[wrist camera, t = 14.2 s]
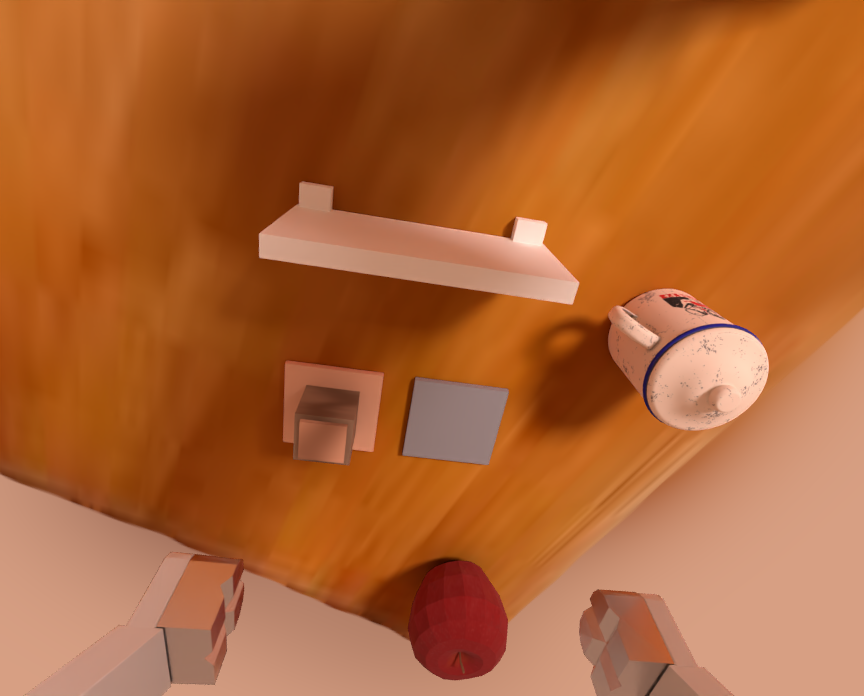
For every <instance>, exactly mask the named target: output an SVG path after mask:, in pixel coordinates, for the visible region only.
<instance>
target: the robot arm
mask: <svg viewBox="0 0 864 696" xmlns="http://www.w3.org/2000/svg"><path fill="white" fill-rule="evenodd" d="M243 570H244V567H243V559H234V558H225V557H216V556H207V555H198V554H188V553H178V552H170V554H168V555H167V557H166V558H165V559H164V560H163V562H162V564H161V565H160V567H159V569H158V571H157V573H156V574H155V576H154V578H153V579H152V581H151V583H150V585H149V586H148V588H147V590H146V592H145V593H144V595H143V597H142V599H141V600H140V602H139V604H138V606H137V607H136V609H135V611H134V613H133V614H132V616H131V618H130V620H129V621H128V623H127V625H126V626H124V625H118V626H117V627H116V628H114V629H113V630H111V631H110V632H109V633H107V634H106V635H105V636H103V637H102V638H101V639H99V640H98V641H97V642H95V643H94V644H93V645H91V646H90V647H89V648H87V649H86V650H84V651H83V652H82V653H80V654H79V655H78V656H76V657H75V658H74V659H72V660H71V661H70V662H68V663H67V664H66V665H65V666H63V667H62V668H60V669H59V670H58V671H56V672H55V673H54V674H52V675H51V676H49V677H48V678H47V679H46V680H44V681H43V682H42V683H40V684H39V685H37V686H36V687H35V688H33V689H32V690H31V691H29V692H28V693H27V694H25V695H24V696H162V695H163V694H164V693H165V692H166V691H167V690H168V689H169V688H170V687H171V683H175V684H176V683H177V684H208V685H210V684H211V685H215V683H216V680H217V677H218V674H219V672H220V669H221V666H222V663H223V660H224V658H225V655H226V652H227V639H226V637H227V636H228V635H229V634H230V633H231V632H232V631H233V630H235V626H236V624H237V620H238V618H239V614H240V610H241V606H242V602H243V595H244V583H243V582H242V581H241V580H240V578H241V575H242V573H243ZM590 601H591V604H592V607H590V608H588V609H587V610H585V611H584V612H583V615H582V617H581V619H580V629H579V634H580V641H581V646H582V649H583V653H584V655H585V656H586V658H587V659H588V660H589V661H590V662H591V663H592V664H593V665H594V667H593V670H592V673H591V679H592V682H593V685H594V688H595V691H596V694H597V696H734V695H733V694H732V693H731V692H730V691H729V690H728V689H726V688H725V687H724V686H723V685H722V684H721V683H720V682H719V681H718V680H717V679H716V678H715V677H714V676H713V675H712V674H711V673H710V672H708V671H707V670H706V669H705V668H704V667H698V666H697V664H696V662H695V660H694V658H693V656H692V654H691V652H690V650H689V648H688V646H687V644H686V642H685V640H684V638H683V637H682V635H681V632H680V631H679V629H678V627H677V625H676V623H675V621H674V619H673V617H672V615H671V613H670V611H669V609H668V607H667V606H666V603H665V601H664V600H663V599H662V598H661V597H660V596H659V595H655V594H643V593H636V592H625V591H611V590H596V591H594V592H593V594H592V596H591V598H590Z"/></svg>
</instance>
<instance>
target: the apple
mask: <svg viewBox="0 0 864 696" xmlns="http://www.w3.org/2000/svg"><path fill="white" fill-rule="evenodd" d="M507 627H508V619H507V616H506V613H505V610H504V607H503V605H502V602H501V599H500V596H499V594H498V593H497V591H496V590H495V588H494V587H493V585H492V584H491V582H490V581H489V579H488V578H487V576H486V575H485V573H484V572H483V571H482V569H481V568H480V567H479V566H477V565H476V564H474V563H472V562H469V561H452V562H447V563H444V564H441V565H438V566H436V567H434V568H433V569H432V570H430V571H429V572H428V573H427V574H426V576H425V578H424V580H423V582H422V584H421V586H420V588H419V589H418V591H417V593H416V596H415V598H414V601H413V603H412V608H411V614H410V619H409V625H408V632H409V637H410V642H411V645H412V648H413V651H414V655H415V658H416V659H417V660H418V661H419V662H420V663H421V664H422V665H423V666H424V667H425V668H426V669H427V670H429V671H430V672H431V673H433V674H435V675H436V676H439V677H441V678H442V679H448V680H462V679H469V678H473V677H479V676H482V675H484V674H486V673H488V672H490V671H491V670H492V669H493V668H494V667H495V666H496V665H497V664H498V662H499V661H500V659H501V658H502V656H503V654H504V652H505V650H506V640H507Z"/></svg>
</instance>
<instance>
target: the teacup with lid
mask: <svg viewBox="0 0 864 696" xmlns="http://www.w3.org/2000/svg"><path fill="white" fill-rule="evenodd" d="M608 317H609V319H610V321H611V322H612V325H611V327H610V331H609V336H608V347H609V351H610V354H611V356H612V358H613V360H614V361H615V362H616V364H617V365H618V366H619V368H620V369H621V370H622V371H623V373H624V374H625V375H626V377H627V378H628V379H629V380H630V382H631V383H632V384H633V386H634V387H635V388H636V389H637V391H638V392H639V393H640V394H641V396H642V397H643V398H644V401H645V404H646V406H647V408H648V410H649V411H650V412H651V414H652V415H653V416H654V417H655V418H657V419H658V420H659V421H661V422H663V423H665V424H667V425H669V426H671V427H674V428H677V429H682V430H705V429H710V428H714V427H717V426H720V425H722V424H725V423H727V422H729V421H731V420H733V419H734V418H736V417H738V416H739V415H740V414H742V413H743V412H744V411H745V410H747V409H748V408H749V407H750V406H751V405H752V404H753V403H754V402H755V400H756V399H757V398H758V396H759V395H760V393H761V392H762V390H763V388H764V386H765V383H766V380H767V377H768V370H769V364H768V357H767V353H766V351H765V349H764V347H763V345H762V343H761V342H760V340H759V339H758V338H757V337H756V336H755V335H754V334H753V333H752V332H750V331H748V330H747V329H745V328H742V327H740V326H737V325H733V324H732V323H730V322H729V321H727V320H726V319H724V318H723V317H722V316H720V315H719V314H717V313H716V312H714V311H713V310H711V309H710V308H708V307H707V306H705V305H704V304H702V303H701V302H699V301H698V300H696V299H695V298H694V297H692V296H691V295H689V294H687V293H685V292H683V291H680V290H675V289H658V290H653V291H649V292H646V293H644V294H642V295H639V296H638V297H636V298H634V299H633V300H631V301H630V302H629V303H627V304H626V305H625V306H624V307H621V306H615V307H613V308H612V309H611V311H610V312H609V314H608Z"/></svg>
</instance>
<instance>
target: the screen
mask: <svg viewBox="0 0 864 696" xmlns="http://www.w3.org/2000/svg"><path fill="white" fill-rule="evenodd" d="M333 191H334V186H328V185H322V184H316V183H310V182H304V181H302V182H301V183H300V184H299V204H297V205H295V206H294V207H293V208H292V209H290V210H289V211H288V212H286V213H285V214H284V215H282V216H281V217H280V218H278V219H277V220H276V221H275V222H273V223H272V224H271V225H269V226H268V227H267V228H265V229H264V230H263V231H262V232H260V233H259V258H264V259H271V260H278V261H284V262H291V263H298V264H305V265H311V266H318V267H325V268H331V269H338V270H345V271H351V272H358V273H365V274H372V275H378V276H385V277H392V278H398V279H405V280H412V281H418V282H425V283H432V284H438V285H445V286H452V287H459V288H465V289H472V290H479V291H485V292H492V293H499V294H505V295H512V296H519V297H525V298H532V299H539V300H546V301H552V302H559V303H566V304H573V301H574V298H575V295H576V292H577V289H578V285H579V282H578V281H577V280H576V279H575V278H574V277H573V276H572V274H571V273H570V272H569V271H568V270H567V269H566V268H565V267H564V266H563V265H562V264H561V263H560V262H559V261H558V259H557V258H556V257H555V256H554V255H553V254H552V253H551V252H550V251H549V250H548V249H547V248H546V247H545V246H544V245H543V239H544V235H545V232H546V228H547V223H546V222H544V221H538V220H532V219H526V218H520V217H516V218H515V223H514V227H513V231H512V235H511V238H507V237H500V236H494V235H488V234H482V233H476V232H469V231H463V230H457V229H451V228H445V227H439V226H432V225H426V224H420V223H414V222H408V221H401V220H395V219H389V218H383V217H377V216H370V215H364V214H358V213H352V212H346V211H339V210H333V209H332V205H333Z"/></svg>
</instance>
